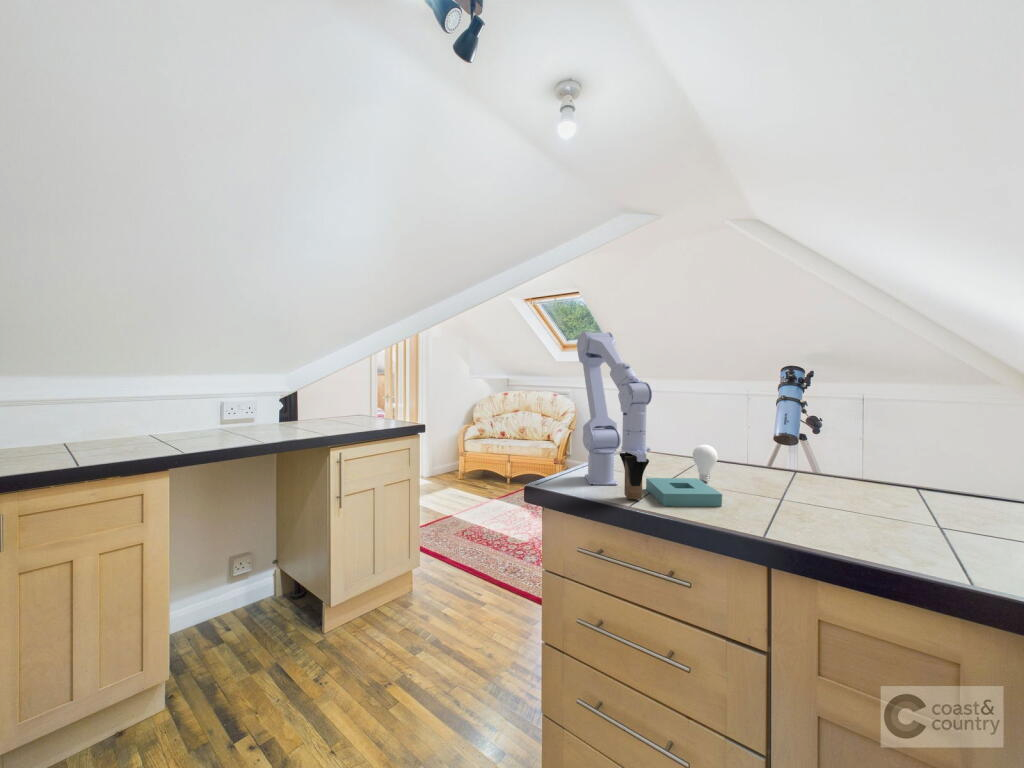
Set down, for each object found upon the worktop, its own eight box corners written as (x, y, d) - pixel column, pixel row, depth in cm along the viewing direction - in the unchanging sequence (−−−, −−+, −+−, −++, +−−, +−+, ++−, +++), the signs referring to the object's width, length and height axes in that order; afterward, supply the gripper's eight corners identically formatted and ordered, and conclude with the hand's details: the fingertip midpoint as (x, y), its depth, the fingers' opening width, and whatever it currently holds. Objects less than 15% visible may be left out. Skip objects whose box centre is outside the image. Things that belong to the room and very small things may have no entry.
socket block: (646, 488, 116) (646, 478, 116) (697, 489, 115) (697, 478, 115) (663, 505, 102) (663, 493, 102) (721, 506, 101) (722, 494, 101)
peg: (624, 494, 109) (625, 456, 108) (637, 494, 109) (638, 456, 108) (627, 498, 105) (628, 459, 105) (641, 498, 105) (642, 459, 105)
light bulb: (711, 479, 125) (712, 442, 125) (720, 485, 119) (721, 447, 118) (688, 478, 126) (689, 442, 125) (696, 485, 119) (697, 446, 119)
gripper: (659, 435, 99) (658, 492, 99) (641, 426, 113) (640, 475, 114) (629, 435, 99) (628, 492, 99) (615, 425, 113) (614, 475, 114)
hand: (633, 483), depth 107 cm, fingers closed on peg, 3 cm apart
